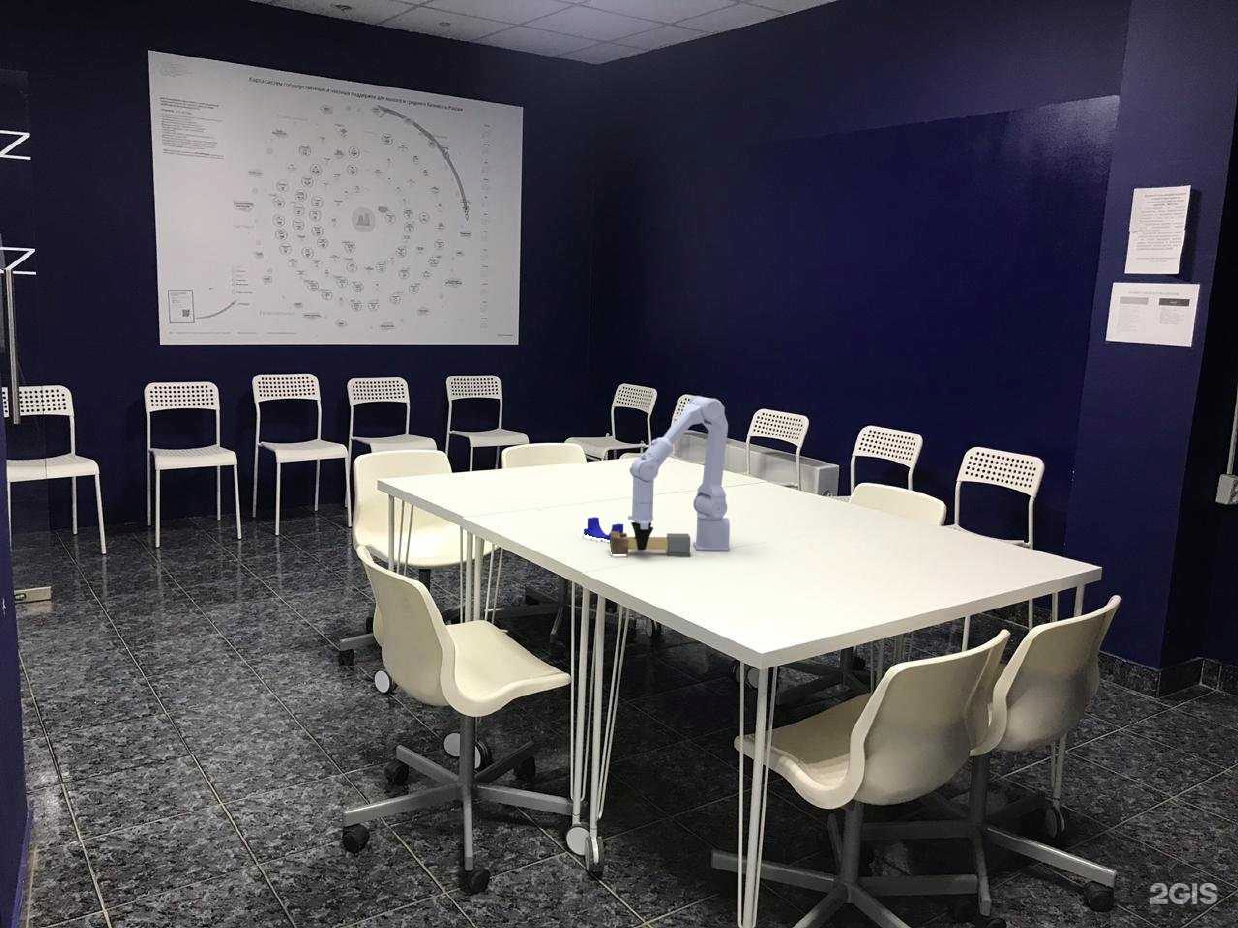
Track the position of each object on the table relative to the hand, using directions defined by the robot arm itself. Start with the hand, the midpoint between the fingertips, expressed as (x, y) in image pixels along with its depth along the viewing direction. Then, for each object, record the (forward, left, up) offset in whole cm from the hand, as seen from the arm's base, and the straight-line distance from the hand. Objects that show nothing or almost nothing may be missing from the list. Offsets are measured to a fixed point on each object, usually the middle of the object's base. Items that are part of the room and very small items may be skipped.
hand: (641, 548), depth 281 cm
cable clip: (+10, -15, -2) cm, 18 cm away
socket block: (+6, 0, -1) cm, 6 cm away
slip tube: (-1, 0, 0) cm, 1 cm away
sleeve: (-11, 0, -1) cm, 11 cm away
